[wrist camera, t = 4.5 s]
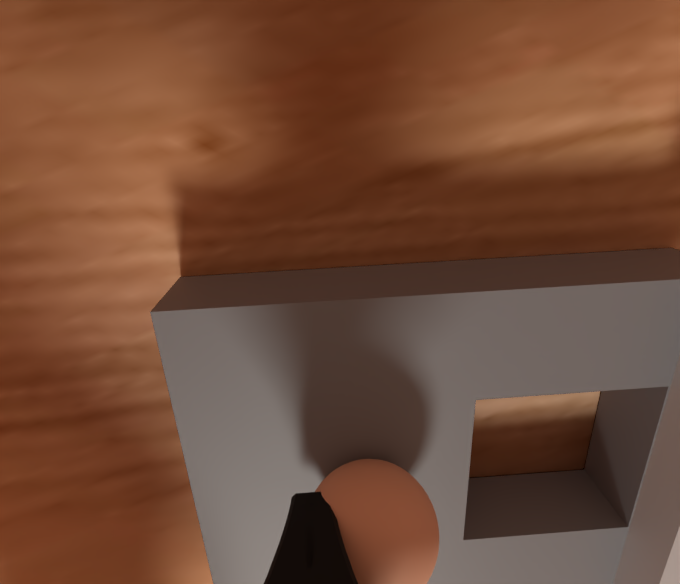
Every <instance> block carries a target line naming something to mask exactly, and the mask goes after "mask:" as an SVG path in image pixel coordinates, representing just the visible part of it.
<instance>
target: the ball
mask: <svg viewBox="0 0 680 584" xmlns="http://www.w3.org/2000/svg"><path fill="white" fill-rule="evenodd" d="M320 491H321V494H322V496H323V498H324V499H325V501H326V502H327V503H328V504H329V505H330V506H331V509H332V510H333V512H334V514H335V516H336V518H337V521H338V525H339V529H340V533H341V536H342V540H343V543H344V546H345V549H346V552H347V555H348V558H349V560H350V563H351V566H352V569H353V572H354V574H355V577H356V580H357V582H358V584H427V582H428V581H429V579H430V577H431V575H432V573H433V570H434V567H435V565H436V561H437V557H438V552H439V527H438V521H437V517H436V513H435V510H434V507H433V505H432V503H431V501H430V499H429V497H428V495H427V493H426V492H425V490H424V489H423V487H422V486H421V485H420V484H419V482H418V481H417V480H416V479H415V478H414V477H413V476H412V475H410V474H409V473H408V472H407V471H405V470H404V469H402V468H401V467H399V466H397V465H395V464H393V463H390V462H387V461H383V460H379V459H360V460H355V461H351V462H349V463H346V464H344V465H342V466H340V467H338V468H336V469H335V470H334V471H332V472H331V473H330V474H329V475H328V476H327V477H326V478H325V479H324V480H323V481H322V482H321V483H320V485H319V486H318V487H317V489H316V490H315V492H320Z"/></svg>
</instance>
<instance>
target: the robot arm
mask: <svg viewBox="0 0 680 584" xmlns="http://www.w3.org/2000/svg"><path fill="white" fill-rule="evenodd" d="M264 584H358V582H357V580H356V577H355V574H354V572H353V569H352V566H351V563H350V560H349V558H348V555H347V552H346V549H345V546H344V543H343V540H342V536H341V533H340V529H339V525H338V521H337V518H336V516H335V514H334V512H333V510H332V509H331V506H330V505H329V504H328V503H327V502H326V501H325V499H324V498H323V496H322V494H321V491H320V492H308V493H296V494H295V495H293V496H292V498H291V504H290V508H289V512H288V516H287V520H286V523H285V526H284V530H283V533H282V536H281V539H280V542H279V545H278V548H277V550H276V553H275V556H274V558H273V561H272V564H271V566H270V569H269V572H268V574H267V577H266V579H265V582H264Z"/></svg>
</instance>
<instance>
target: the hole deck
mask: <svg viewBox="0 0 680 584" xmlns="http://www.w3.org/2000/svg"><path fill="white" fill-rule="evenodd" d="M150 313H151V317H152V322H153V326H154V330H155V335H156V339H157V343H158V347H159V352H160V356H161V360H162V365H163V369H164V373H165V378H166V382H167V386H168V391H169V395H170V399H171V403H172V408H173V412H174V416H175V421H176V425H177V429H178V434H179V438H180V442H181V446H182V451H183V455H184V459H185V464H186V468H187V472H188V477H189V481H190V485H191V489H192V494H193V498H194V502H195V507H196V511H197V515H198V520H199V524H200V528H201V533H202V537H203V541H204V545H205V550H206V554H207V558H208V563H209V567H210V571H211V576H212V580H213V584H264V582H265V579H266V577H267V574H268V572H269V569H270V566H271V564H272V561H273V558H274V556H275V553H276V550H277V548H278V545H279V542H280V539H281V536H282V533H283V530H284V526H285V523H286V520H287V516H288V512H289V508H290V504H291V498H292V496H293V495H295V494H296V493H308V492H315V490H316V489H317V487H318V486H319V485H320V483H321V482H322V481H323V480H324V479H325V478H326V477H327V476H328V475H329V474H330V473H331V472H332V471H334V470H335V469H336V468H338V467H340V466H342V465H344V464H346V463H349V462H351V461H355V460H360V459H379V460H383V461H387V462H390V463H393V464H395V465H397V466H399V467H401V468H402V469H404V470H405V471H407V472H408V473H409V474H410V475H412V476H413V477H414V478H415V479H416V480H417V481H418V482H419V484H420V485H421V486H422V487H423V489H424V490H425V492H426V493H427V495H428V497H429V499H430V501H431V503H432V505H433V507H434V510H435V513H436V517H437V521H438V527H439V552H438V557H437V561H436V565H435V567H434V570H433V573H432V575H431V577H430V579H429V581H428V582H427V584H680V251H679V250H677V249H674V248H660V249H643V250H626V251H610V252H593V253H576V254H559V255H542V256H525V257H508V258H492V259H475V260H458V261H441V262H424V263H407V264H391V265H374V266H357V267H340V268H323V269H306V270H290V271H273V272H256V273H239V274H222V275H205V276H188V277H180V278H179V279H178V280H177V282H176V283H175V284H174V285H173V286H172V287H171V288H170V290H169V291H168V292H167V293H166V294H165V295H164V297H163V298H162V299H161V300H160V301H159V302H158V304H157V305H156V306H155V307H154V308H153V309H152V311H151V312H150ZM595 391H601V395H600V400H599V404H598V409H597V413H596V418H595V423H594V427H593V432H592V436H591V441H590V445H589V450H588V454H587V459H586V464H585V468H584V470H572V471H559V472H546V473H533V474H519V475H506V476H493V477H480V478H469V470H470V458H471V447H472V436H473V425H474V414H475V402H476V400H480V399H495V398H509V397H523V396H538V395H552V394H566V393H581V392H595Z"/></svg>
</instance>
